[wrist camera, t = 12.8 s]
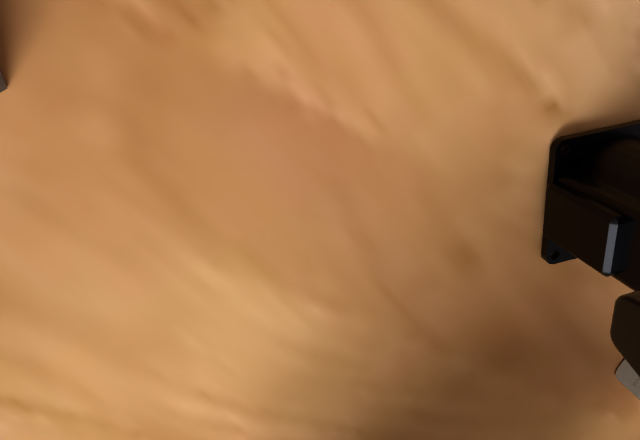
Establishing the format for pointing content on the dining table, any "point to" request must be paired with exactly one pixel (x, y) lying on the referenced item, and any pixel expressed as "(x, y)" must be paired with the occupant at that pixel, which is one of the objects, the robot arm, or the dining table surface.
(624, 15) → the dining table surface
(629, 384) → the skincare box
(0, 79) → the podium
